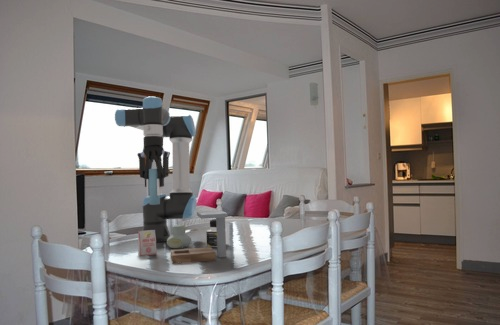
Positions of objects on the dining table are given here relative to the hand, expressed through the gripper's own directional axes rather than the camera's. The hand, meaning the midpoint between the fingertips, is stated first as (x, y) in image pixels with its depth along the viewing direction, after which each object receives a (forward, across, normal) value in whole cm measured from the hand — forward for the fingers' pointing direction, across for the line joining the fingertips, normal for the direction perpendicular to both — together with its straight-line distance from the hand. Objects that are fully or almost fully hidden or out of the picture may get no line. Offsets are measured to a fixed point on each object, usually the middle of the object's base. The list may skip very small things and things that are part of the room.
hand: (154, 195), depth 156 cm
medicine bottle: (+25, +13, +31) cm, 42 cm away
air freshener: (+25, -2, +24) cm, 35 cm away
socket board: (+25, +14, +3) cm, 29 cm away
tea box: (+25, -9, +8) cm, 28 cm away
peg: (+4, 0, 0) cm, 4 cm away
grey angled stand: (+25, +21, +7) cm, 34 cm away
